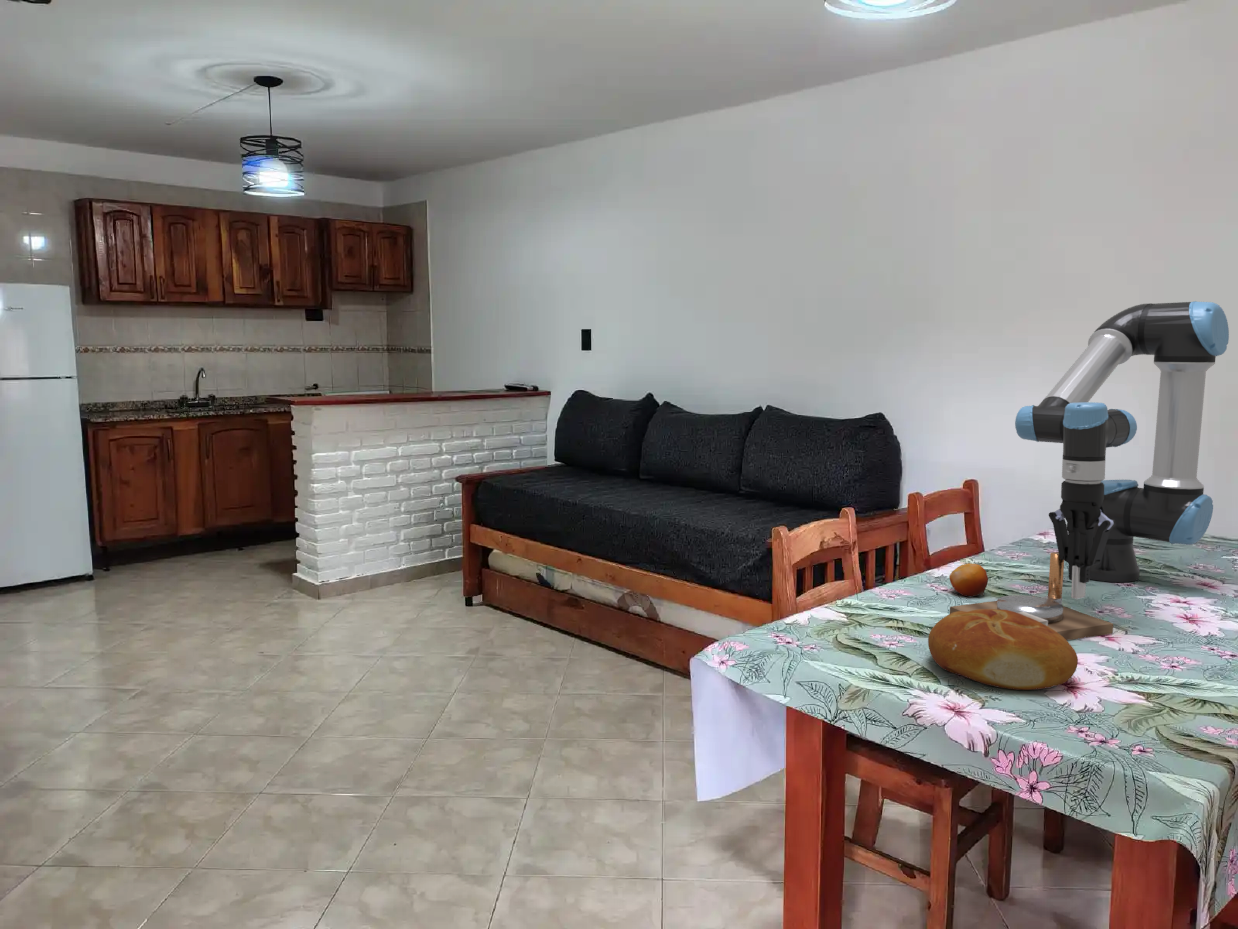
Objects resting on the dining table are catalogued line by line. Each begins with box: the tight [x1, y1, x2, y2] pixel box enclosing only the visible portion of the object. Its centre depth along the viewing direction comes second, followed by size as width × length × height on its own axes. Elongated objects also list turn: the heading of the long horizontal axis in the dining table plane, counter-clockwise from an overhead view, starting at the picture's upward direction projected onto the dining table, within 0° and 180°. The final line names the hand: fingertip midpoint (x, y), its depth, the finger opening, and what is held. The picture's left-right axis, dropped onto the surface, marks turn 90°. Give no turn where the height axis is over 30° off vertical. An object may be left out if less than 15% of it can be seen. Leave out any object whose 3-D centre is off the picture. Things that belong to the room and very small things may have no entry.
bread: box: [927, 609, 1079, 691], centre depth 151 cm, size 23×23×10 cm
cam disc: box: [996, 551, 1065, 623], centre depth 177 cm, size 16×12×11 cm
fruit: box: [949, 562, 989, 597], centre depth 198 cm, size 8×8×8 cm
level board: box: [949, 595, 1114, 641], centre depth 176 cm, size 22×20×4 cm
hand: (1078, 597), depth 176 cm, fingers closed
